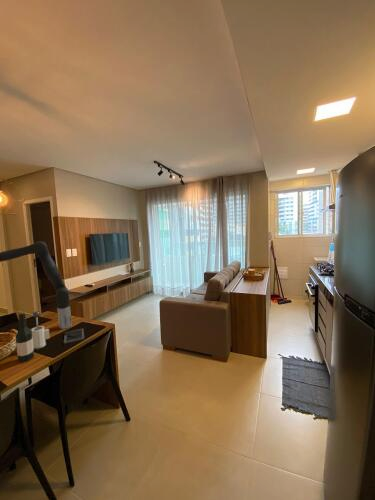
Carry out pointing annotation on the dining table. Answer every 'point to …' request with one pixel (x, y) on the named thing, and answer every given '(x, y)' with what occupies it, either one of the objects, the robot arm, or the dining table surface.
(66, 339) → the picture frame
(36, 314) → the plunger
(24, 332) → the wine bottle
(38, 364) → the dining table surface
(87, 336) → the dining table surface
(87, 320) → the dining table surface
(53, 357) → the dining table surface
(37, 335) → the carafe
